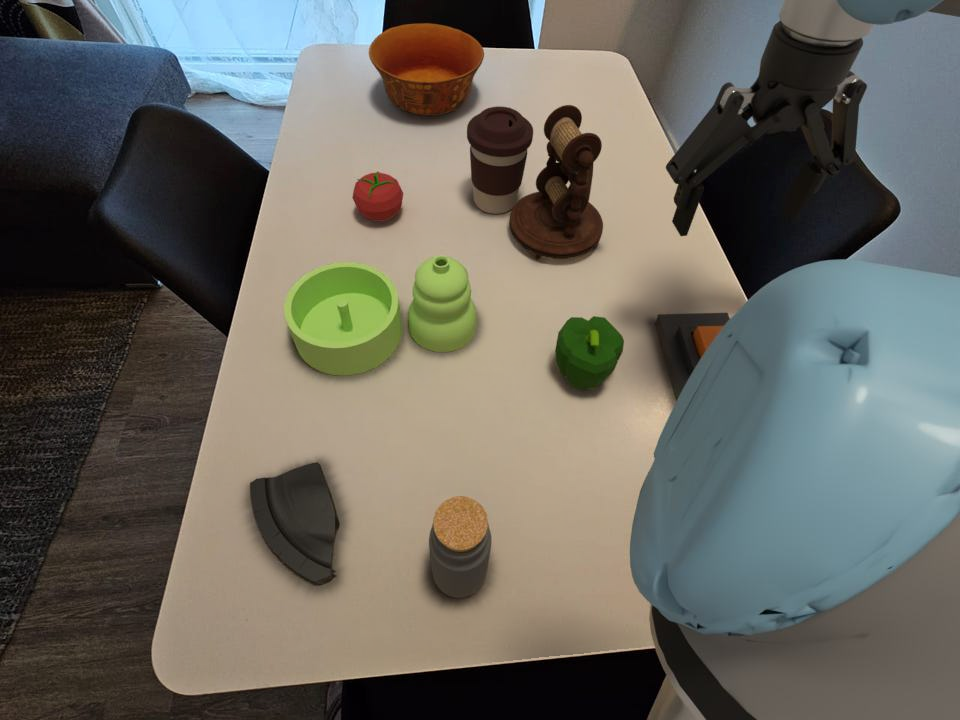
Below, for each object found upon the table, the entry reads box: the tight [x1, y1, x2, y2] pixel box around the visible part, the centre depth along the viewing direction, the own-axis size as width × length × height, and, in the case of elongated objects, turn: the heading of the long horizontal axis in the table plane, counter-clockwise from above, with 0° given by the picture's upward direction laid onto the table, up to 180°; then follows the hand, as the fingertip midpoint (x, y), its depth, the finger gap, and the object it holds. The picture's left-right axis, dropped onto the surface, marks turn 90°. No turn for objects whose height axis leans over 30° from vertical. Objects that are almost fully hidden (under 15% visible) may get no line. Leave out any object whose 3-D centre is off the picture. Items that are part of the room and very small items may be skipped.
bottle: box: [428, 495, 492, 599], centre depth 55 cm, size 6×6×15 cm
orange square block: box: [692, 326, 724, 359], centre depth 74 cm, size 4×4×2 cm
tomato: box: [352, 170, 404, 222], centre depth 90 cm, size 8×8×8 cm
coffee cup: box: [466, 105, 534, 215], centre depth 90 cm, size 10×10×15 cm
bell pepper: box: [554, 315, 625, 391], centre depth 72 cm, size 8×8×10 cm
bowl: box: [368, 22, 485, 116], centre depth 108 cm, size 21×21×10 cm
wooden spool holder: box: [508, 104, 604, 260], centre depth 83 cm, size 15×15×20 cm
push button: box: [654, 312, 731, 401], centre depth 76 cm, size 14×10×4 cm
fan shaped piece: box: [249, 461, 340, 585], centre depth 62 cm, size 8×14×2 cm, turn 23°
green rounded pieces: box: [283, 254, 478, 377], centre depth 74 cm, size 25×15×13 cm, turn 97°
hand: (734, 222), depth 67 cm, fingers open, 13 cm apart
